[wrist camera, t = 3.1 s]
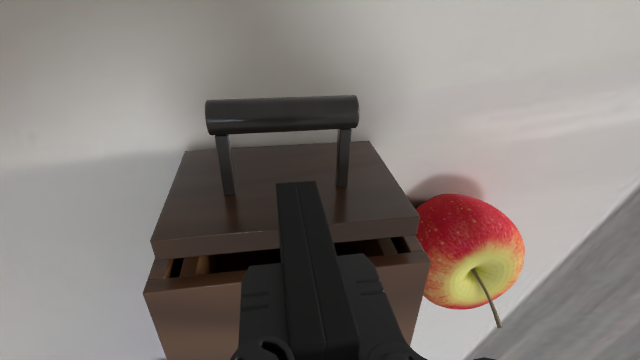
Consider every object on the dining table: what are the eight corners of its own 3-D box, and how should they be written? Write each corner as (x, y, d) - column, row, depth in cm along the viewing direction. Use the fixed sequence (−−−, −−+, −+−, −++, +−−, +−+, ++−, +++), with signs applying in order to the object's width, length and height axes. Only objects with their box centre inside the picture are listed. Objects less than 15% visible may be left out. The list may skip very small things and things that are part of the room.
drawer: (168, 72, 20) (115, 133, 12) (376, 67, 21) (441, 118, 14) (216, 300, 30) (203, 410, 22) (355, 284, 31) (385, 380, 24)
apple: (390, 261, 32) (439, 364, 24) (385, 186, 27) (443, 282, 19) (474, 240, 32) (551, 335, 24) (483, 164, 28) (582, 248, 19)
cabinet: (184, 173, 24) (141, 293, 15) (371, 161, 26) (431, 261, 17) (215, 317, 32) (200, 450, 23) (356, 299, 34) (392, 416, 25)
